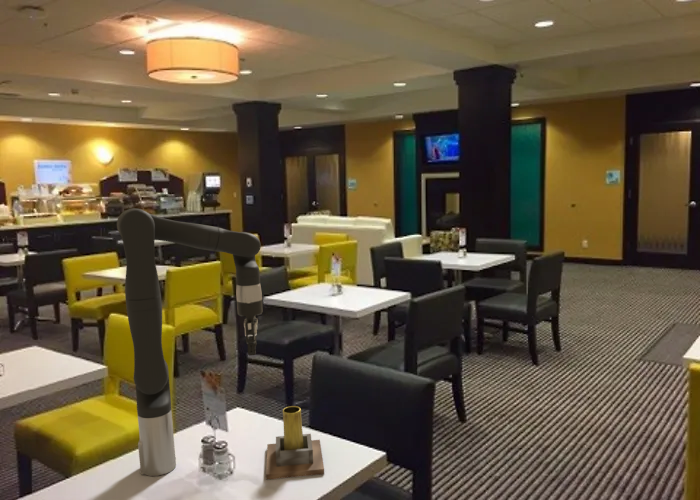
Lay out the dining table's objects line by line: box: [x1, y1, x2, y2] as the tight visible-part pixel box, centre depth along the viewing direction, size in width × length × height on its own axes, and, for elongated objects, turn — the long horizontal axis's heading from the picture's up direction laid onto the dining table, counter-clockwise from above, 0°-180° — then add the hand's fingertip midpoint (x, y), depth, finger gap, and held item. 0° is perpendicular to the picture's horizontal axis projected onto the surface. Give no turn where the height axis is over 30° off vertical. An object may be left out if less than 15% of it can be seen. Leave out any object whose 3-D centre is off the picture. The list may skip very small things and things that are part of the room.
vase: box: [282, 405, 304, 451], centre depth 170 cm, size 6×6×14 cm
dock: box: [265, 433, 325, 481], centre depth 171 cm, size 16×18×6 cm
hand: (252, 350), depth 179 cm, fingers open, 8 cm apart
